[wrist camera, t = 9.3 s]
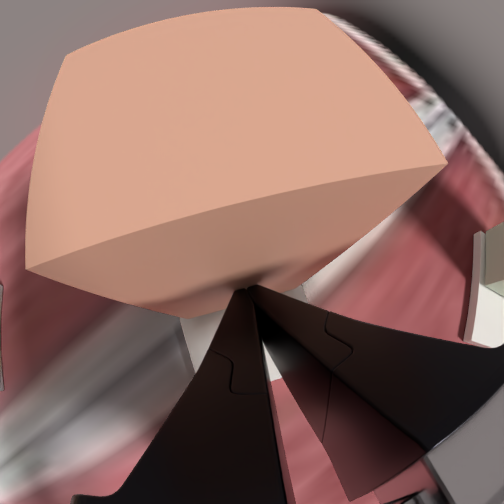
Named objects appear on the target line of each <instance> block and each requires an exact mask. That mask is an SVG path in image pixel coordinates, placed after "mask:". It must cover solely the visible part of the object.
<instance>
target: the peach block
mask: <svg viewBox="0 0 504 504" xmlns="http://www.w3.org/2000/svg"><path fill="white" fill-rule="evenodd" d="M447 164H448V162H447V161H446V159H445V157H444V155H443V154H442V152H441V150H440V149H439V147H438V145H437V144H436V142H435V141H434V139H433V137H432V136H431V134H430V133H429V131H428V130H427V128H426V127H425V125H424V124H423V122H422V121H421V119H420V118H419V117H418V115H417V114H416V112H415V111H414V110H413V108H412V107H411V106H410V104H409V103H408V102H407V100H406V99H405V98H404V96H403V95H402V94H401V93H400V91H399V90H398V89H397V88H396V86H395V85H394V84H393V83H392V82H391V80H390V79H389V78H388V77H387V76H386V75H385V74H384V72H383V71H382V70H381V69H380V68H379V67H378V66H377V65H376V64H375V62H374V61H373V60H372V59H371V58H370V57H369V56H368V55H367V54H366V53H365V52H364V51H363V50H362V49H361V48H360V47H359V46H358V45H357V44H356V43H355V42H354V41H353V40H352V39H351V38H350V37H348V36H347V35H346V34H345V33H344V32H343V31H342V30H341V29H340V28H338V27H337V26H336V25H335V24H334V23H333V22H331V21H330V20H329V19H328V18H327V17H325V16H324V15H323V14H322V13H320V12H319V11H318V10H316V9H310V8H293V7H256V8H237V9H226V10H217V11H209V12H202V13H196V14H190V15H185V16H180V17H175V18H171V19H166V20H162V21H158V22H154V23H150V24H146V25H143V26H140V27H136V28H133V29H130V30H127V31H124V32H121V33H118V34H115V35H112V36H109V37H107V38H104V39H102V40H99V41H97V42H94V43H92V44H89V45H87V46H85V47H83V48H80V49H78V50H76V51H74V52H72V53H70V54H68V55H66V57H65V59H64V61H63V64H62V66H61V69H60V71H59V73H58V76H57V79H56V81H55V84H54V87H53V90H52V92H51V95H50V99H49V101H48V105H47V108H46V111H45V114H44V118H43V122H42V125H41V129H40V133H39V137H38V142H37V146H36V151H35V156H34V161H33V167H32V173H31V179H30V186H29V195H28V204H27V216H26V236H25V267H26V270H28V271H31V272H33V273H36V274H38V275H41V276H44V277H46V278H49V279H52V280H55V281H58V282H60V283H63V284H66V285H69V286H72V287H75V288H78V289H81V290H84V291H87V292H90V293H93V294H96V295H100V296H103V297H106V298H109V299H113V300H116V301H120V302H123V303H127V304H130V305H134V306H137V307H141V308H145V309H149V310H153V311H156V312H160V313H164V314H168V315H173V316H177V317H181V318H185V319H190V318H194V317H198V316H202V315H205V314H209V313H213V312H217V311H220V310H224V309H226V308H227V306H228V303H229V301H230V299H231V297H232V294H233V292H234V291H235V290H239V289H243V288H245V289H247V287H250V286H253V285H257V284H258V285H261V286H263V287H266V288H269V289H271V290H274V291H276V292H279V293H282V292H285V291H289V290H292V289H295V288H297V287H298V286H299V285H301V284H302V283H303V282H305V281H306V280H308V279H309V278H310V277H312V276H313V275H314V274H316V273H317V272H318V271H320V270H321V269H322V268H324V267H325V266H326V265H328V264H329V263H330V262H331V261H333V260H334V259H335V258H337V257H338V256H339V255H341V254H342V253H343V252H344V251H346V250H347V249H348V248H350V247H351V246H352V245H353V244H355V243H356V242H357V241H358V240H360V239H361V238H362V237H363V236H365V235H366V234H367V233H368V232H370V231H371V230H372V229H373V228H375V227H376V226H377V225H378V224H379V223H381V222H382V221H383V220H384V219H385V218H387V217H388V216H389V215H390V214H391V213H393V212H394V211H395V210H396V209H397V208H399V207H400V206H401V205H402V204H403V203H404V202H406V201H407V200H408V199H409V198H410V197H411V196H413V195H414V194H415V193H416V192H417V191H418V190H419V189H421V188H422V187H423V186H424V185H425V184H426V183H427V182H428V181H429V180H431V179H432V178H433V177H434V176H435V175H436V174H437V173H438V172H439V171H441V170H442V169H443V168H444V167H445V166H446V165H447Z"/></svg>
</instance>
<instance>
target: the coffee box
mask: <svg viewBox="0 0 504 504" xmlns="http://www.w3.org/2000/svg"><path fill="white" fill-rule="evenodd" d="M2 294H3V286H2V285H0V391H3V390H4V385H3V375H2V361H1V307H2Z"/></svg>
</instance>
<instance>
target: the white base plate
mask: <svg viewBox="0 0 504 504" xmlns="http://www.w3.org/2000/svg"><path fill="white" fill-rule="evenodd" d="M485 274H486V234H485V233H483V232H482V231H479V232H477V233H475V234H474V246H473V271H472V284H471V294H470V302H469V310H468V317H467V323H466V328H465V334H464V339H463V341H464V342H467V343H470V344H473V345H476V346H479V347H484V348H495V347H498V346H501V345H502V344H503V343H504V297H503V296H502V295H500V294H498V293H496V292H495V291H493V290H491V289H490V288H488V287H486V286H485Z"/></svg>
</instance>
